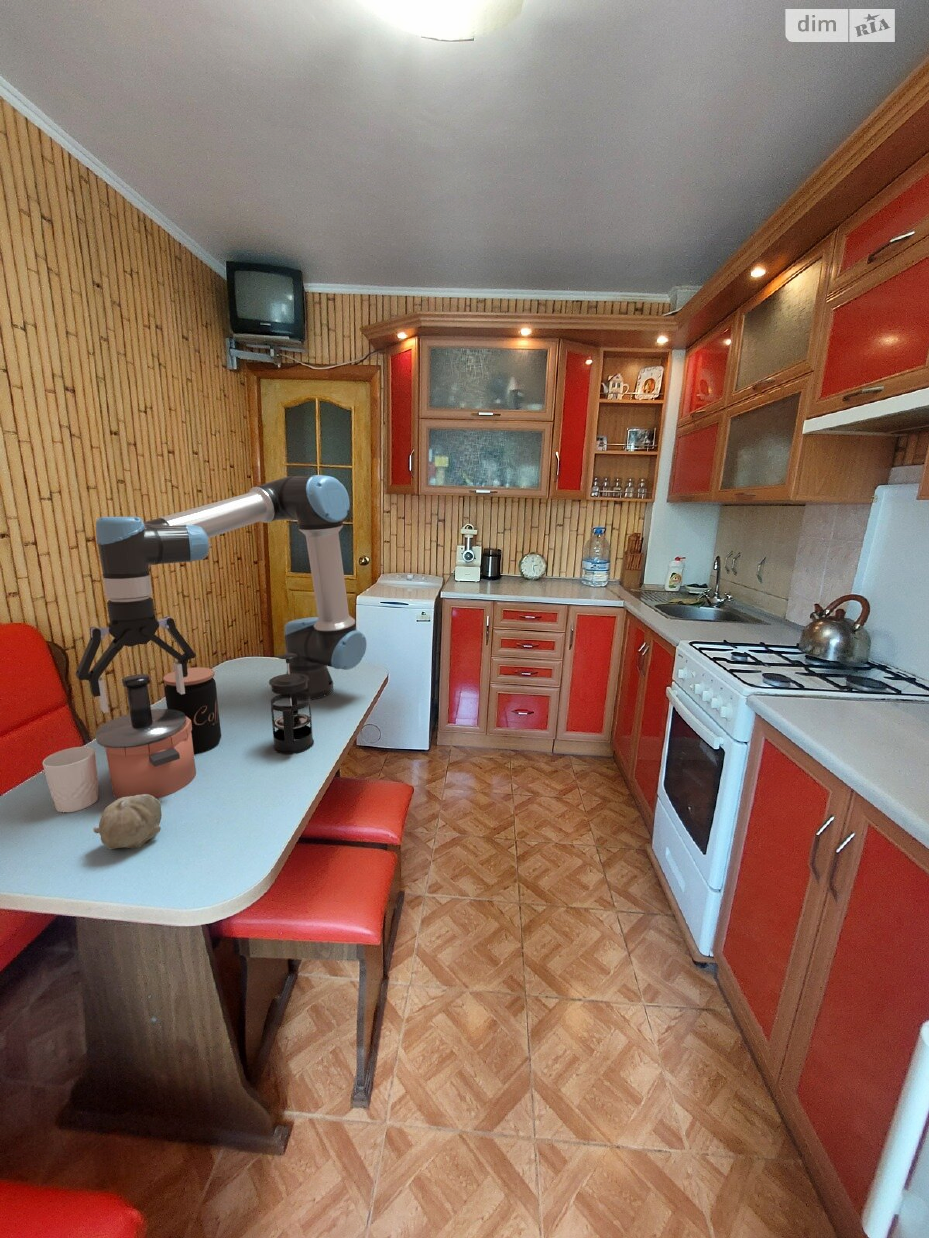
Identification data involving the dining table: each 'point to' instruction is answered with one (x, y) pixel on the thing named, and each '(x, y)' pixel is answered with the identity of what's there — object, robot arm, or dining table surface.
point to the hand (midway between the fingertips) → (144, 701)
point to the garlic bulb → (130, 821)
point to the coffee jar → (197, 705)
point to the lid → (140, 719)
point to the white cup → (72, 778)
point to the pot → (153, 766)
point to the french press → (291, 712)
